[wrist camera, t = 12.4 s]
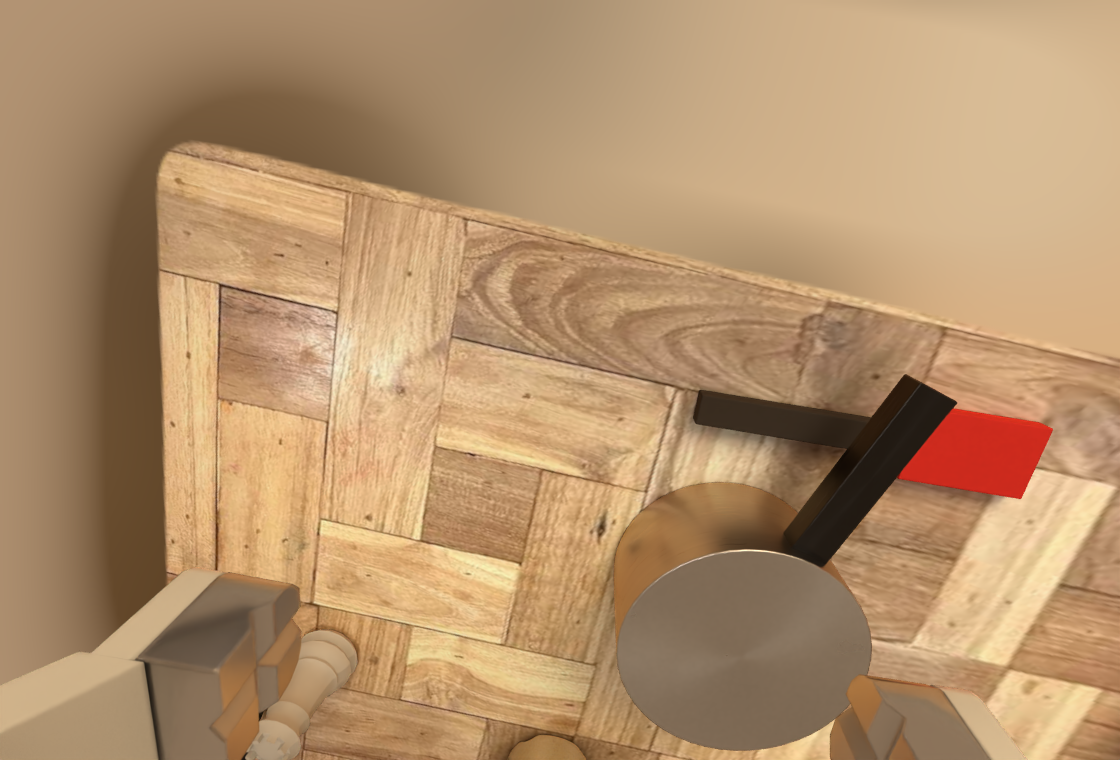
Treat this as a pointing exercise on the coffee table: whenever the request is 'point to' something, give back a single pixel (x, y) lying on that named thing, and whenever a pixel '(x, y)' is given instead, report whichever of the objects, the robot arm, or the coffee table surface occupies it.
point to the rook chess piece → (304, 694)
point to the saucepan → (757, 593)
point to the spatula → (945, 458)
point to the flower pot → (546, 749)
